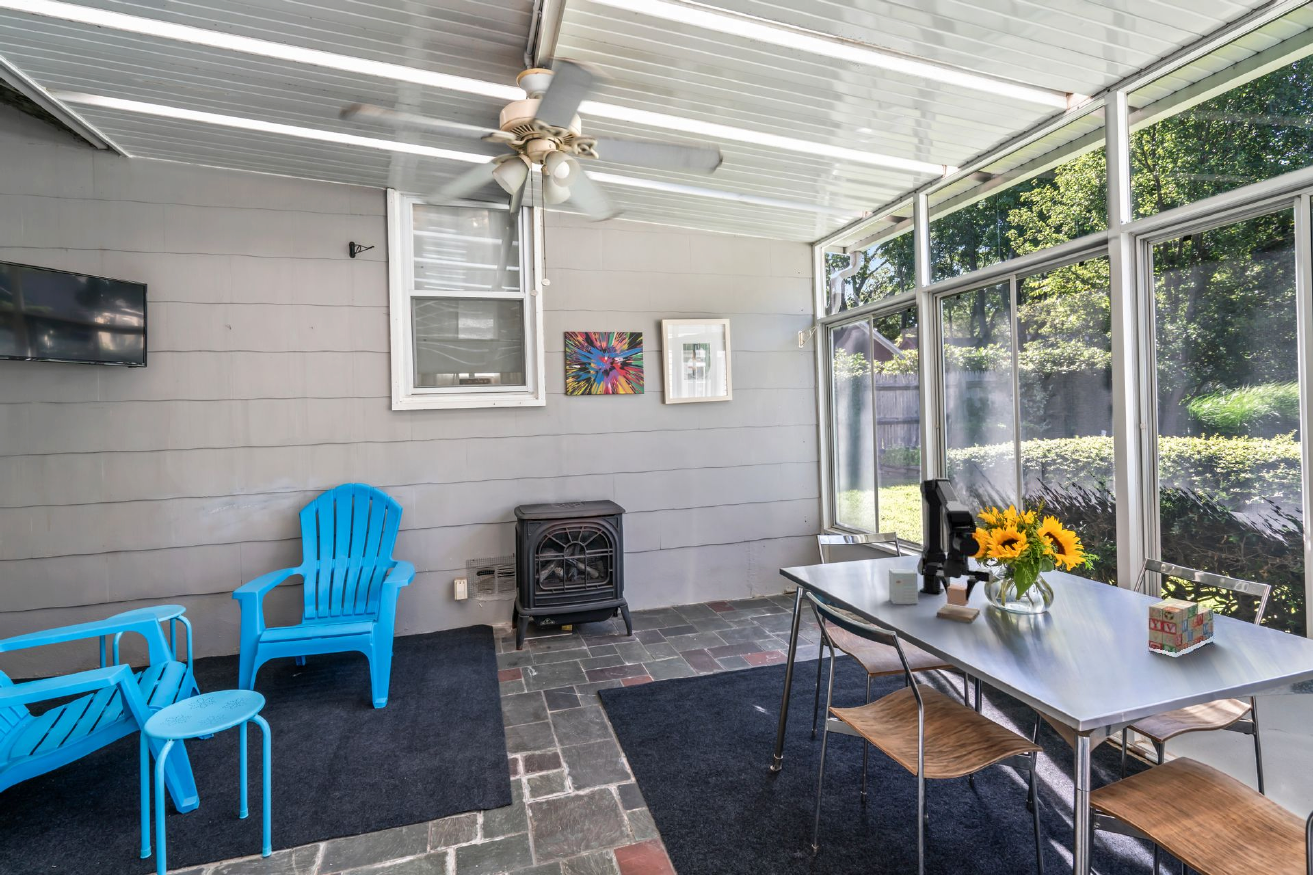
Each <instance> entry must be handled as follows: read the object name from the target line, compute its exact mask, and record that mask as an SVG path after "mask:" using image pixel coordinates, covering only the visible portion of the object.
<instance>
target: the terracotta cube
mask: <svg viewBox="0 0 1313 875" xmlns="http://www.w3.org/2000/svg"><path fill="white" fill-rule="evenodd" d="M966 592H967V585H961V584H951V583H950V586H949V587H948V588H947V594H946V598H947V599H946V600H947V603H946V604H947V605H953V606H959V607H965V606H967V605H968V604H969V603H970V602H969V601H970V599H969V600H968V601H966Z"/></svg>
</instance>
